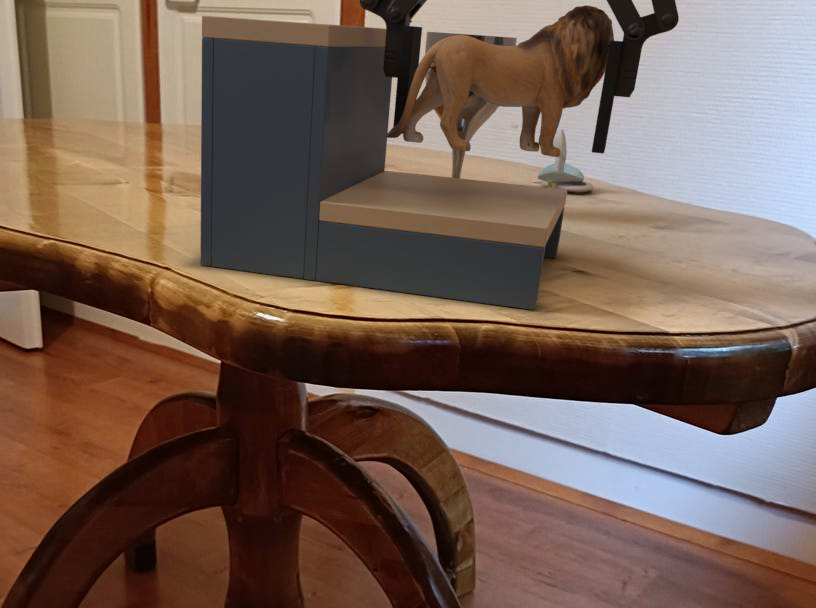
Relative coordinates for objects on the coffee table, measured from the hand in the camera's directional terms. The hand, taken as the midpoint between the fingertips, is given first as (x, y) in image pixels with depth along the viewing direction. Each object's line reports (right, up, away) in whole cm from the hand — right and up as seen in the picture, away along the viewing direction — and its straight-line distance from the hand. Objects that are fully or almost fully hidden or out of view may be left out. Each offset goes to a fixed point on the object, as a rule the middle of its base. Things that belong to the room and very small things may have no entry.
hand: (498, 141), depth 63 cm
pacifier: (+15, +9, +44) cm, 47 cm away
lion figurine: (0, -1, 0) cm, 1 cm away
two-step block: (-7, -7, +5) cm, 11 cm away
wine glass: (0, +2, +27) cm, 27 cm away
